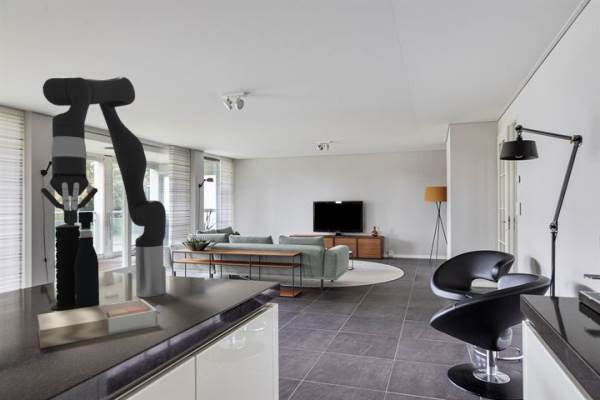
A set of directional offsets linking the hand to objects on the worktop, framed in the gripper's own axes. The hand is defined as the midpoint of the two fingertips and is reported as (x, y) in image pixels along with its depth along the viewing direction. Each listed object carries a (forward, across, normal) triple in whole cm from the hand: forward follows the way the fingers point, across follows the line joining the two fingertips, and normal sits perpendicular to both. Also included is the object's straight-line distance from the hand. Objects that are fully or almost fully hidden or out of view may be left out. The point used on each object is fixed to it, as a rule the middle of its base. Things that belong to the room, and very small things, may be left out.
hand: (70, 225), depth 100 cm
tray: (+27, -13, 0) cm, 30 cm away
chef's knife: (+28, -23, -7) cm, 36 cm away
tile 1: (+26, -10, 0) cm, 28 cm away
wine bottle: (+27, -6, -21) cm, 35 cm away
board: (+27, 0, 0) cm, 27 cm away
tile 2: (+23, -15, 0) cm, 28 cm away
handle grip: (+27, -2, -31) cm, 41 cm away
